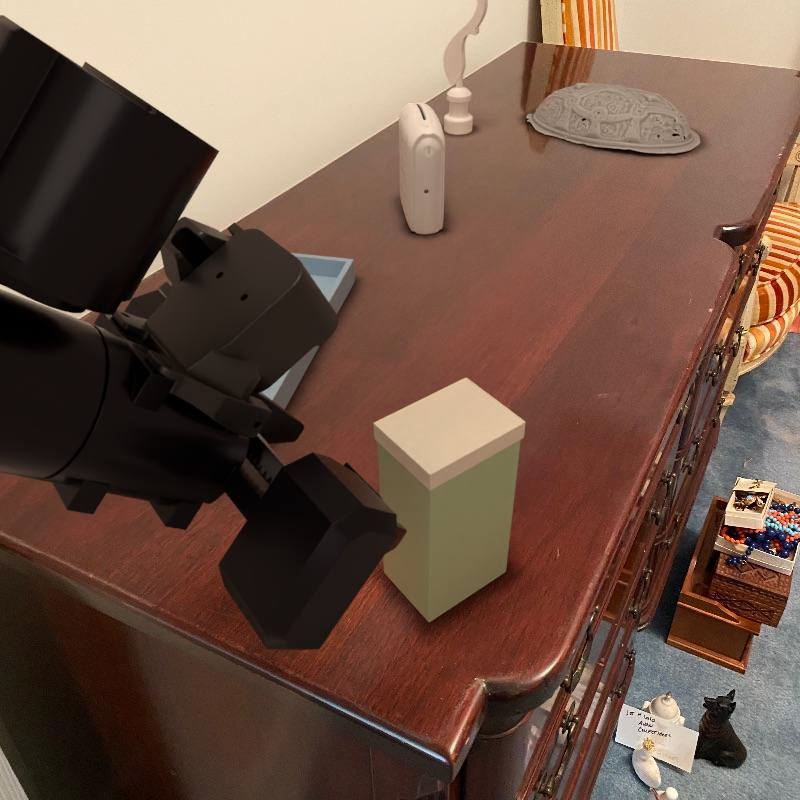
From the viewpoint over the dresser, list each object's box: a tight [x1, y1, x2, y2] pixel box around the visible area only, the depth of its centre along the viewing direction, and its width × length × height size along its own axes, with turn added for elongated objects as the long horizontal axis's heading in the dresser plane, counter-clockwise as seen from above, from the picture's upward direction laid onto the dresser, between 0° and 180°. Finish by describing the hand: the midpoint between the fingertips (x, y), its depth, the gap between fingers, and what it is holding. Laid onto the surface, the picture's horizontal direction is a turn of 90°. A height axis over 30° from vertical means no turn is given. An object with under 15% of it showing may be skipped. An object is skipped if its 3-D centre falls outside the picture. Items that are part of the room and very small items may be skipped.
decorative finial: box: [442, 0, 489, 136], centre depth 102 cm, size 6×4×25 cm
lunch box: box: [373, 377, 526, 623], centre depth 45 cm, size 7×5×13 cm
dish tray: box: [262, 252, 356, 410], centre depth 67 cm, size 29×11×3 cm, turn 166°
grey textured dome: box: [525, 82, 701, 155], centre depth 107 cm, size 16×25×7 cm, turn 54°
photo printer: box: [398, 101, 446, 235], centre depth 85 cm, size 10×4×12 cm, turn 8°
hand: (345, 481), depth 38 cm, fingers open, 9 cm apart
